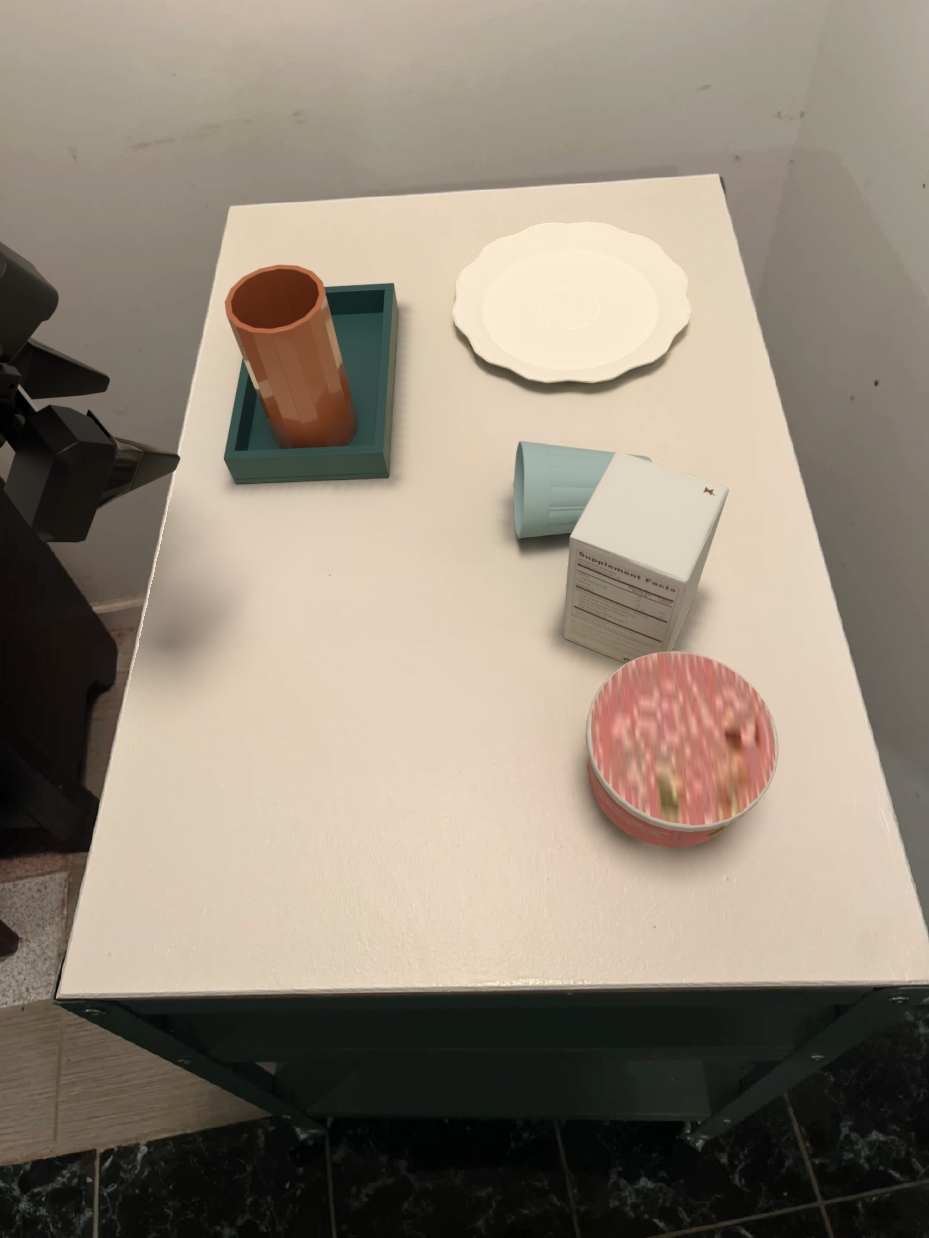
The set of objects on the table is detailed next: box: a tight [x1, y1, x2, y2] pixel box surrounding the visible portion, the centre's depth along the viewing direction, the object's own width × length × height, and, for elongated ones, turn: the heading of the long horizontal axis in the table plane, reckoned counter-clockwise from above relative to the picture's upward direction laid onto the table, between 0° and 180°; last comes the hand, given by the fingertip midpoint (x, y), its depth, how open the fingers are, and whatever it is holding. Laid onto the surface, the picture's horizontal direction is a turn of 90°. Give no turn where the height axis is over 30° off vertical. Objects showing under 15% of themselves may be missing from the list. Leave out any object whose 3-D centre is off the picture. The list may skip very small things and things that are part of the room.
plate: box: [451, 220, 693, 384], centre depth 74 cm, size 21×21×2 cm
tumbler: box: [224, 264, 357, 449], centre depth 63 cm, size 7×7×13 cm
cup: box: [513, 440, 653, 539], centre depth 61 cm, size 7×7×10 cm
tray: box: [223, 282, 399, 485], centre depth 70 cm, size 20×13×3 cm, turn 0°
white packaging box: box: [562, 451, 730, 664], centre depth 53 cm, size 7×7×13 cm
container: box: [585, 650, 780, 849], centre depth 49 cm, size 10×10×8 cm
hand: (141, 421), depth 53 cm, fingers open, 9 cm apart
